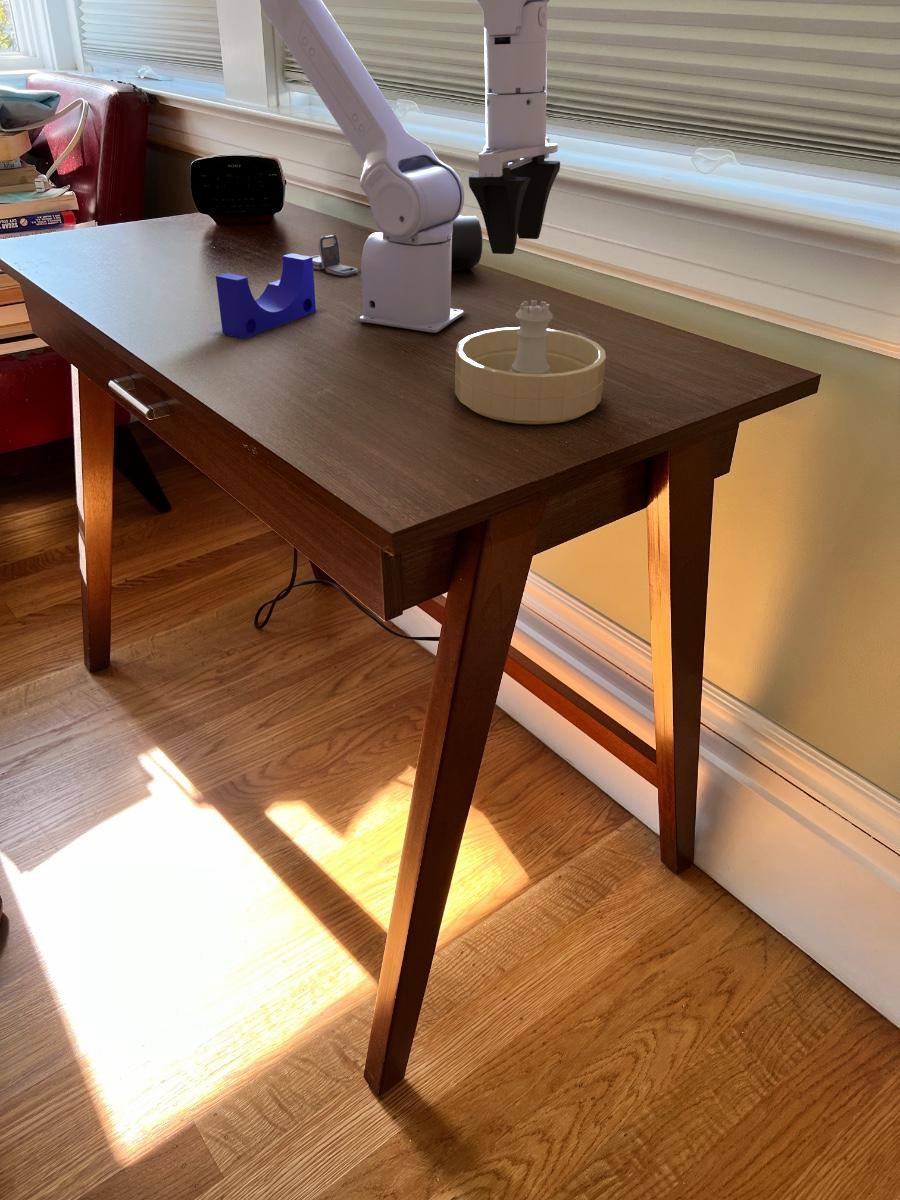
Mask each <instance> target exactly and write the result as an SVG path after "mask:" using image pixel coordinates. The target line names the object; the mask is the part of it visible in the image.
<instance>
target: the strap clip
mask: <svg viewBox="0 0 900 1200" xmlns="http://www.w3.org/2000/svg"><path fill="white" fill-rule="evenodd" d="M329 239H332V242H333V245H327V246H324V245H323V244H324V243H323V241H324V240H329ZM339 248H340V247H339V242H338V238H337V236H336V235H335V234H330V235H325V236H321V237H320V238H319V241H318V250H319V255H312V256H311V257H312V258H313V270H319V271H320V270H324V269H325V272H326V273H329V274H332V275H336V276H348V275H351V274H356V273H358V272H359V268H357V267H354V266H349V265H345V264H341V263H340V262H341V259H340V258H341V257H340V249H339Z"/></svg>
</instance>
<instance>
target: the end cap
mask: <svg viewBox="0 0 900 1200" xmlns="http://www.w3.org/2000/svg"><path fill="white" fill-rule="evenodd" d="M451 238H452V261H451V272H452V271H466V270H467V271H468V270H473V269H474V268H475V266H477V265H478V264H479V263H480V261H481V259H482V254H483V231H482V226H481V221H480V220H479V218H478V217H477V216H476V215H461V214H459V216H458V217H457V218H456V219H455V220H454V221H453V232H452V237H451Z"/></svg>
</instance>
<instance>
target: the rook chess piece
mask: <svg viewBox="0 0 900 1200" xmlns="http://www.w3.org/2000/svg"><path fill="white" fill-rule="evenodd" d="M537 303H538V300H535V299H532V300H530V305H529V301H528V300H524V301H522V302H521V303H520V305H519V309H518V311H516V313H515V317H516V319H517V321H518V322H519V325H520V326H519V327H520V329H519V330H518V331H517V334H518V335H519V344H518V349H517V355H516V359H515V361H514V363H513V364H512V369H511V370H510V371H509V372H513V373H524V374H552V373H551V371H550V370H549V369H550V367H549V365H548V364H547V355H546V338H547V336H548V335H549V332H548V331H547V329H548V325H549V323H550V322H551V321H552V320H553V318H554V315H553V313H552V312H551V310H550V306H551V305H550V303H547V302H546V301H544V300H541V301H540V305H538V304H537Z"/></svg>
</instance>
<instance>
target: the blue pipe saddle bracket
mask: <svg viewBox="0 0 900 1200" xmlns="http://www.w3.org/2000/svg"><path fill="white" fill-rule="evenodd" d="M314 276H315V275H314V268H313V258H312V256H309V255H302V254H297V253H292V252H291V253H288V254H284V255H282V270H281V276H280V279H277V280H275V281H272V282H269V283H267V285H266V287H265V288H264V291H263V292H262V294H261V295H260V296H259V297H258V298H256V299H255V298H254V296H253V293H252V291H251V288H250V284H249V279H248V277H247V276H243V275H239V274H234V273H230V272H229V273H228V272H224V273H220V274H217V275H215V283H216V290H217V291H216V292H217V298H218V306H219V315H220V323H221V331H222V334H223V335H225V336H229V337H230V336H231V337H235V338H239V339H243V340H244V339H247V338H249V337H253V336H255V335H258V334H261V333H263V332H266V331H268V330H271V329H274V328H276V327H279V326H282V325H285V324H287V323H289V322H292V321H295V320H297V319H300V318H303V317H306V316H308V315H311V314H313V313H317V308H316V307H317V305H316V291H315V290H316V289H315V277H314Z"/></svg>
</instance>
